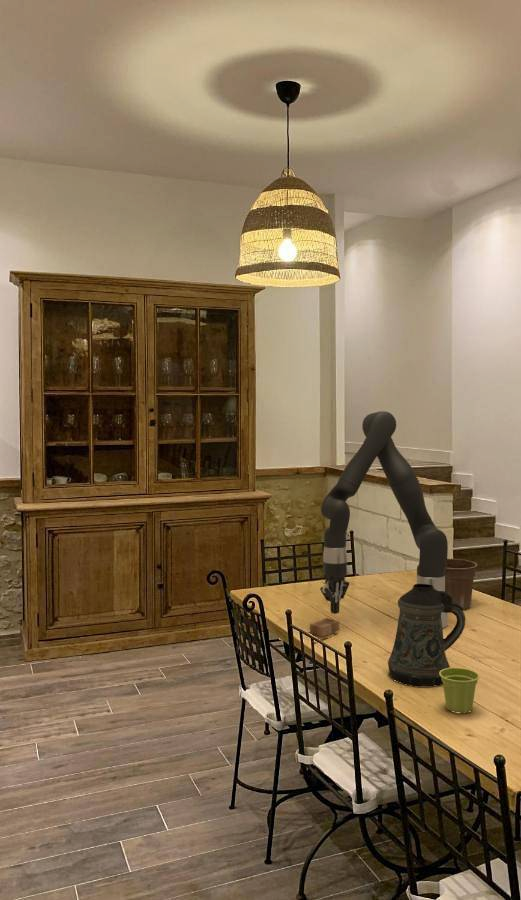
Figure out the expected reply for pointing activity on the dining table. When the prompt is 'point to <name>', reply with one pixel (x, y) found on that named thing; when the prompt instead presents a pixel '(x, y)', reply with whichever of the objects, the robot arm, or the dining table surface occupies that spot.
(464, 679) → the plant pot
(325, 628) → the walnut slab
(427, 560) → the robot arm
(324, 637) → the shard
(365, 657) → the dining table surface
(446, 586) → the plant pot
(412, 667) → the beer stein
